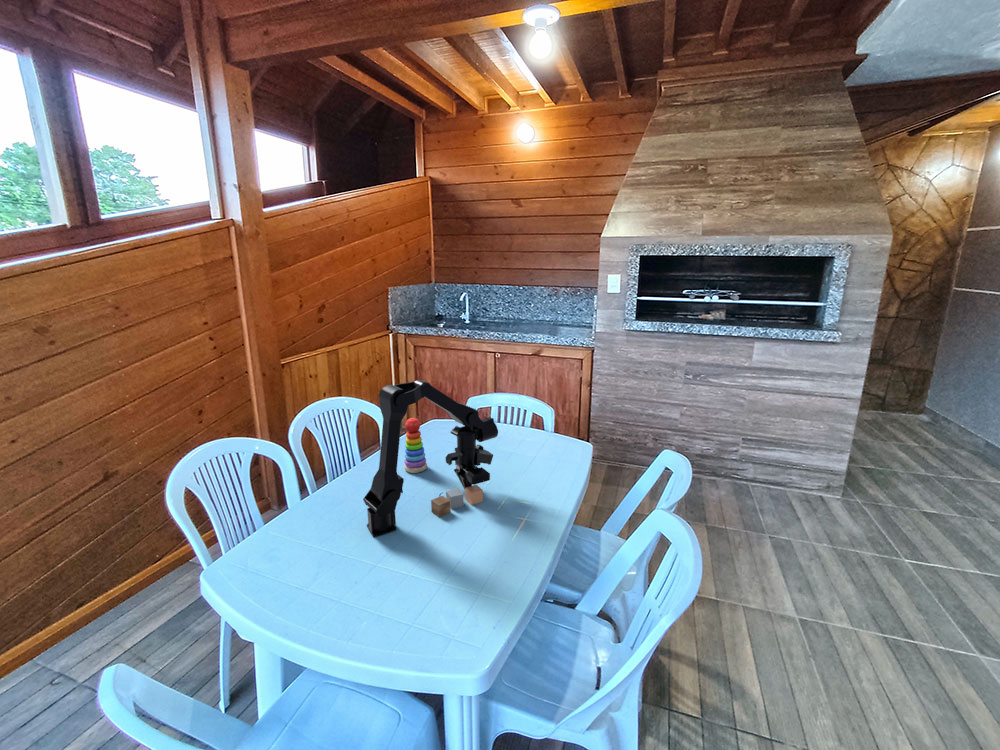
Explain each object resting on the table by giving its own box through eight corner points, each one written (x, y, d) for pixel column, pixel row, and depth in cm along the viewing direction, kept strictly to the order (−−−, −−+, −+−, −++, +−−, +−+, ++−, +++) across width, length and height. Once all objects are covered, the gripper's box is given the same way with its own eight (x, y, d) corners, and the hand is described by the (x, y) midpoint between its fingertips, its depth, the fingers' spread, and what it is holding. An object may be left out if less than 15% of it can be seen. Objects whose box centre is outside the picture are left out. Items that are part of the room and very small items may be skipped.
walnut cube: (439, 517, 136) (438, 505, 135) (431, 512, 139) (431, 500, 138) (450, 512, 139) (450, 500, 138) (442, 507, 142) (442, 495, 141)
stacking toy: (429, 464, 170) (427, 414, 166) (424, 474, 163) (421, 423, 158) (408, 463, 171) (405, 414, 166) (401, 473, 163) (398, 422, 159)
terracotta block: (471, 505, 143) (471, 493, 142) (465, 499, 146) (464, 487, 145) (482, 501, 145) (482, 489, 144) (476, 496, 148) (476, 484, 147)
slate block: (451, 509, 141) (450, 497, 140) (446, 503, 144) (446, 491, 143) (463, 506, 143) (463, 494, 142) (458, 500, 146) (458, 488, 145)
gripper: (505, 450, 141) (505, 497, 145) (475, 431, 157) (475, 474, 161) (472, 458, 136) (473, 507, 140) (444, 437, 151) (445, 482, 155)
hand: (467, 491), depth 149 cm, fingers closed
